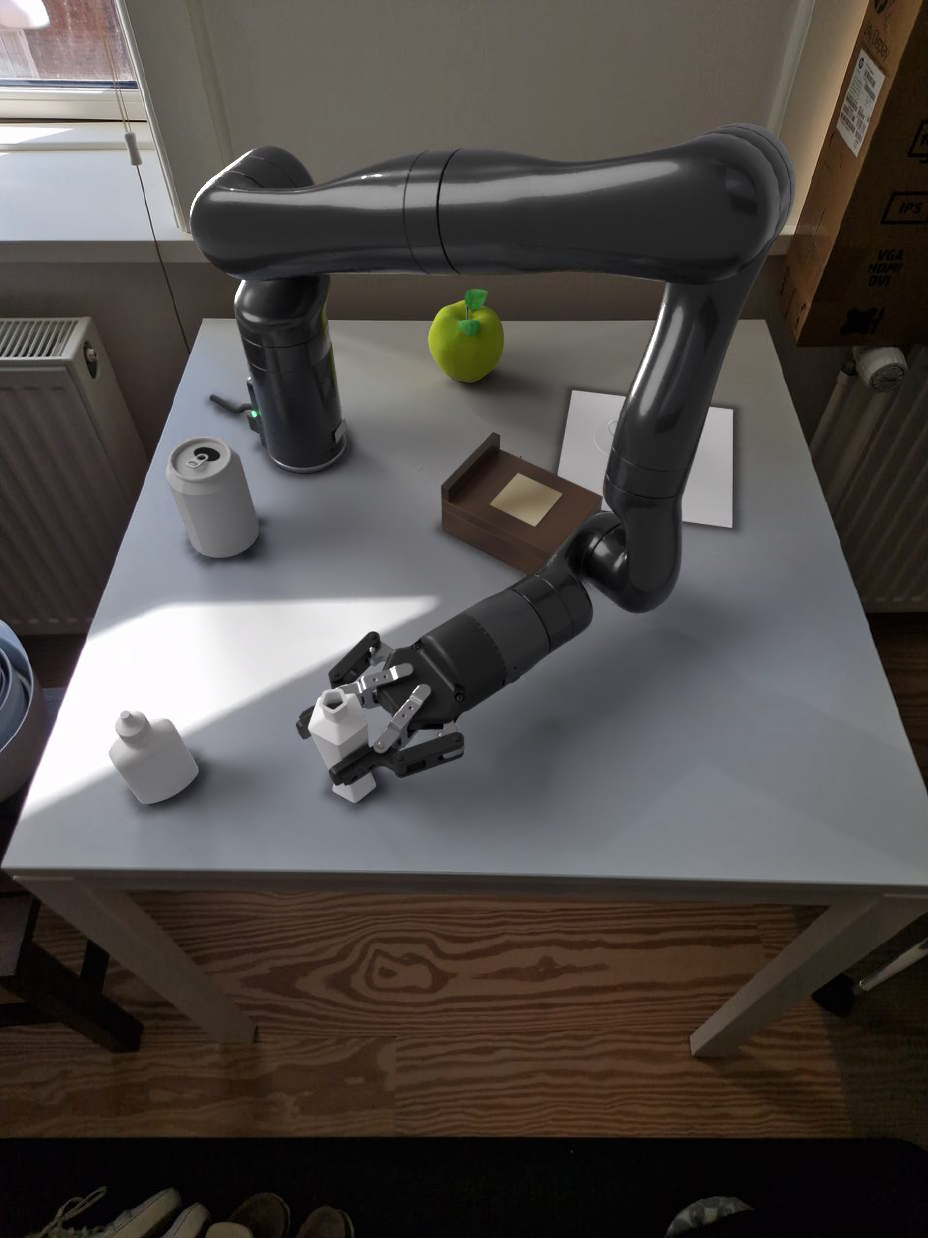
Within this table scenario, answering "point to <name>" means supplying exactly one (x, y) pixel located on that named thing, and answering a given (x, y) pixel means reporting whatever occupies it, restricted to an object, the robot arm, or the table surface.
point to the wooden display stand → (512, 507)
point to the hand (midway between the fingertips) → (316, 754)
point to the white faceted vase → (341, 736)
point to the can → (212, 496)
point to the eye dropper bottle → (151, 757)
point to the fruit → (467, 338)
